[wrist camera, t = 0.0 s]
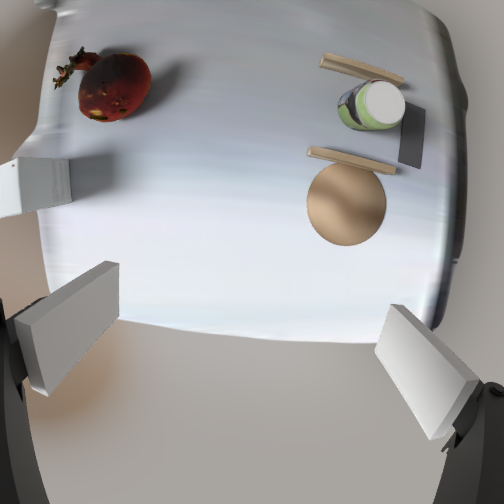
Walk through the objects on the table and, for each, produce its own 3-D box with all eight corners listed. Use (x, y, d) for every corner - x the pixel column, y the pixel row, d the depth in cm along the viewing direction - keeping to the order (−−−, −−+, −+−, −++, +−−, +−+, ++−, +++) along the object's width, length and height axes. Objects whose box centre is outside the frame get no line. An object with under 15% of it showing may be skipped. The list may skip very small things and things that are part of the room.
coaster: (314, 153, 38) (314, 153, 38) (390, 173, 38) (391, 172, 38) (299, 238, 41) (299, 238, 40) (375, 251, 41) (376, 251, 41)
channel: (319, 61, 35) (325, 52, 31) (393, 84, 35) (403, 77, 32) (306, 155, 38) (311, 153, 35) (384, 174, 39) (394, 174, 35)
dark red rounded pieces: (94, 102, 42) (111, 149, 37) (46, 72, 30) (46, 115, 25) (144, 54, 39) (172, 89, 34) (99, 14, 27) (115, 37, 23)
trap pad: (403, 101, 36) (404, 101, 35) (424, 110, 36) (425, 109, 36) (398, 161, 38) (398, 161, 38) (419, 168, 38) (420, 168, 38)
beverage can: (376, 100, 36) (415, 77, 24) (369, 145, 38) (409, 134, 26) (337, 87, 36) (366, 56, 24) (329, 132, 37) (358, 115, 26)
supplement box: (38, 167, 38) (-12, 168, 26) (70, 158, 38) (18, 156, 26) (41, 209, 40) (-9, 220, 27) (73, 203, 40) (21, 213, 27)
